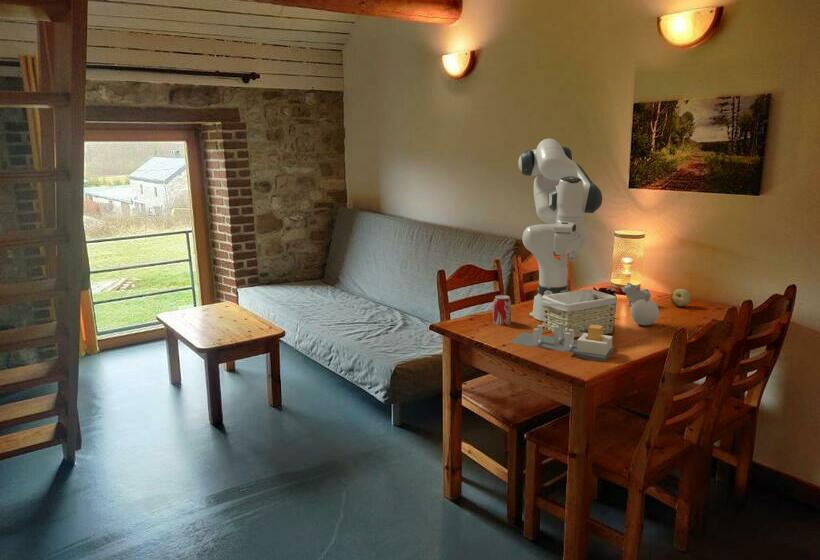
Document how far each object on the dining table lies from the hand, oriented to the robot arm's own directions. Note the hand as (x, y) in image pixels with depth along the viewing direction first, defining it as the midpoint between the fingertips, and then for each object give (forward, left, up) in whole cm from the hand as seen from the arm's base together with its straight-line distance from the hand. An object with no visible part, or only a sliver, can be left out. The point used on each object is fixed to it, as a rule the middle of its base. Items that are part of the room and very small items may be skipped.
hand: (567, 263), depth 211 cm
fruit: (-73, +30, -29) cm, 84 cm away
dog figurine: (-65, +13, -29) cm, 72 cm away
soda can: (-10, -28, -29) cm, 42 cm away
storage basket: (-15, +1, -30) cm, 33 cm away
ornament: (-37, +21, -29) cm, 52 cm away
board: (+6, 0, -29) cm, 30 cm away
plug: (+6, +10, -28) cm, 30 cm away
